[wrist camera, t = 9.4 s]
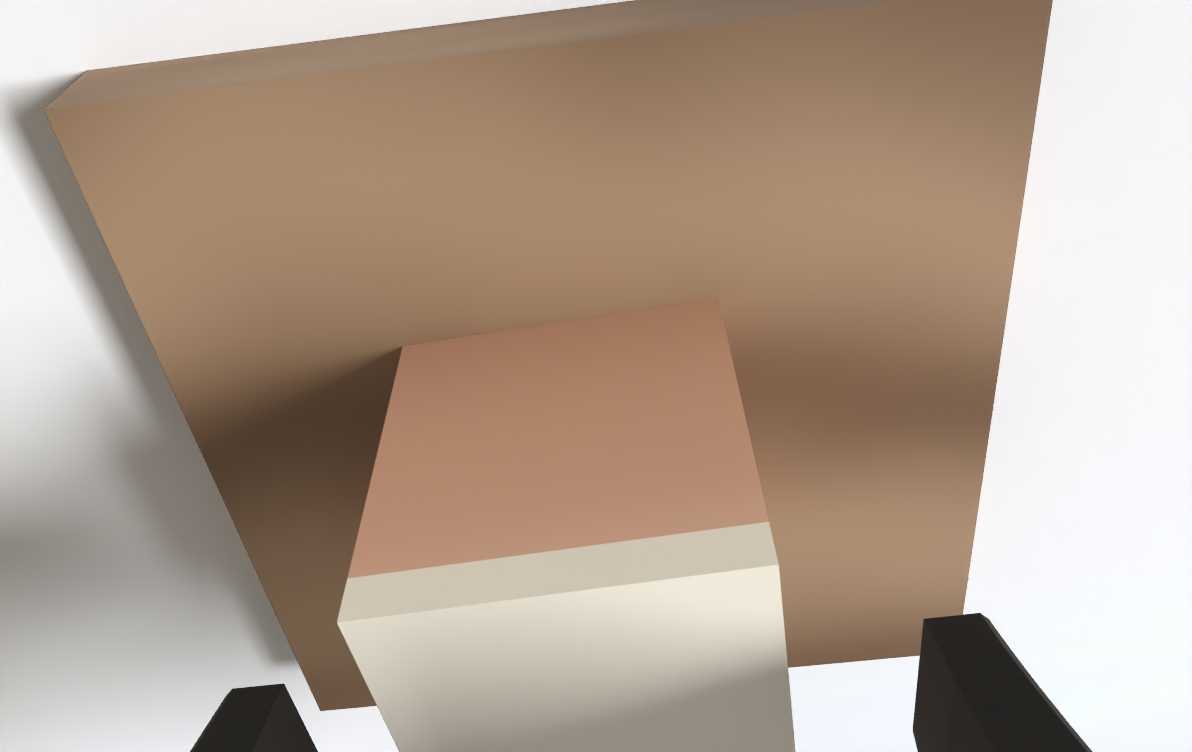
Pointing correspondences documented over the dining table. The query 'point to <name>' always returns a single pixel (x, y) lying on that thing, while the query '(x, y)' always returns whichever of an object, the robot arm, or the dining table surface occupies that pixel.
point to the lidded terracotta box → (571, 546)
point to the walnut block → (591, 260)
